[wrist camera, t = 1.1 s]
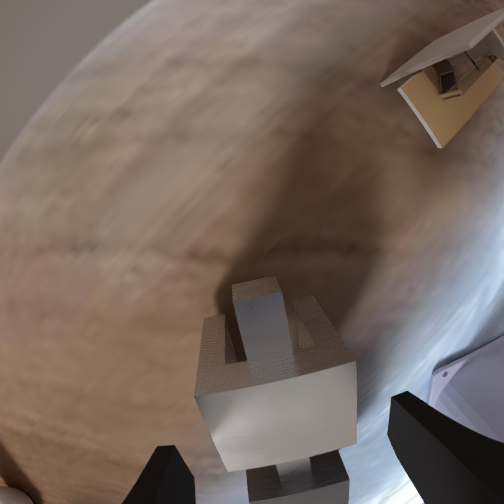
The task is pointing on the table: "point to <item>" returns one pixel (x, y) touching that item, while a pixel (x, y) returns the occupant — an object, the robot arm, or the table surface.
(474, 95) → the architectural model
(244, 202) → the table surface
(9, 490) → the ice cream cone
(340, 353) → the bracket
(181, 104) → the table surface
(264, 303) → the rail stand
